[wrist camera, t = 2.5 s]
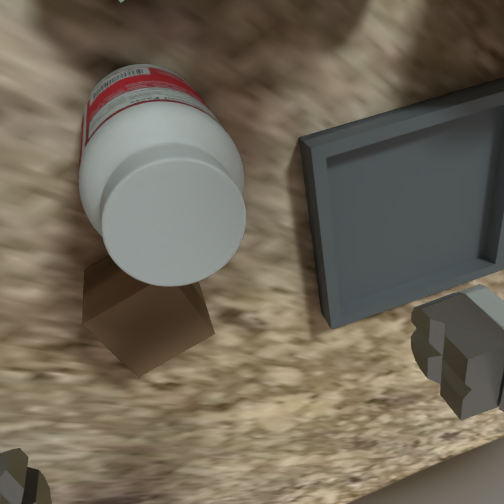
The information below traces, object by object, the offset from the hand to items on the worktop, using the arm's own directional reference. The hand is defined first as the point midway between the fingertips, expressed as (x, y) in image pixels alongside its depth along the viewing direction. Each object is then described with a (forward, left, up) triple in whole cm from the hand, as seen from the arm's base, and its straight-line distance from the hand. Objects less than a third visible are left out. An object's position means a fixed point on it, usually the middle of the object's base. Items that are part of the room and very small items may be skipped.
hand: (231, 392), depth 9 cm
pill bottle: (0, 0, -18) cm, 18 cm away
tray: (+10, +15, -18) cm, 25 cm away
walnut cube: (+9, -3, -18) cm, 20 cm away
